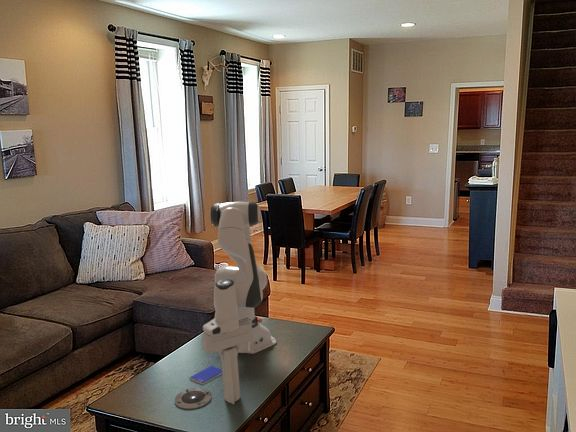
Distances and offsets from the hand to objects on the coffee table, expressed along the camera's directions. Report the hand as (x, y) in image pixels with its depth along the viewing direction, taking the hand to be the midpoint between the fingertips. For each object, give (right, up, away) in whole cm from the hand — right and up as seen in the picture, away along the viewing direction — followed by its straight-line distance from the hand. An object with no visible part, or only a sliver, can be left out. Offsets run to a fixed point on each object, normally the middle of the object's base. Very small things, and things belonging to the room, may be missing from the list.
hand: (229, 357), depth 190 cm
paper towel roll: (+1, -17, +3) cm, 17 cm away
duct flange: (-14, -17, +4) cm, 23 cm away
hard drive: (-12, -15, +22) cm, 29 cm away
